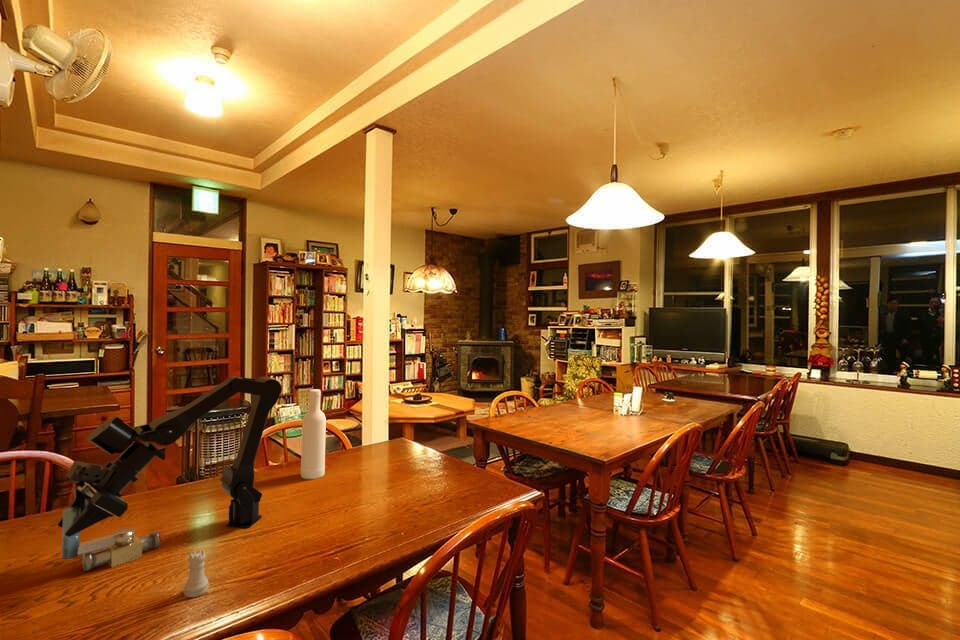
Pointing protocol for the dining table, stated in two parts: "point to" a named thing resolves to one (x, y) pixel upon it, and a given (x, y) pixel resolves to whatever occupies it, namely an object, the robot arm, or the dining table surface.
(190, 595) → the rook chess piece
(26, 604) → the dining table surface
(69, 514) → the lever
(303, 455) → the bottle
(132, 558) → the valve body
